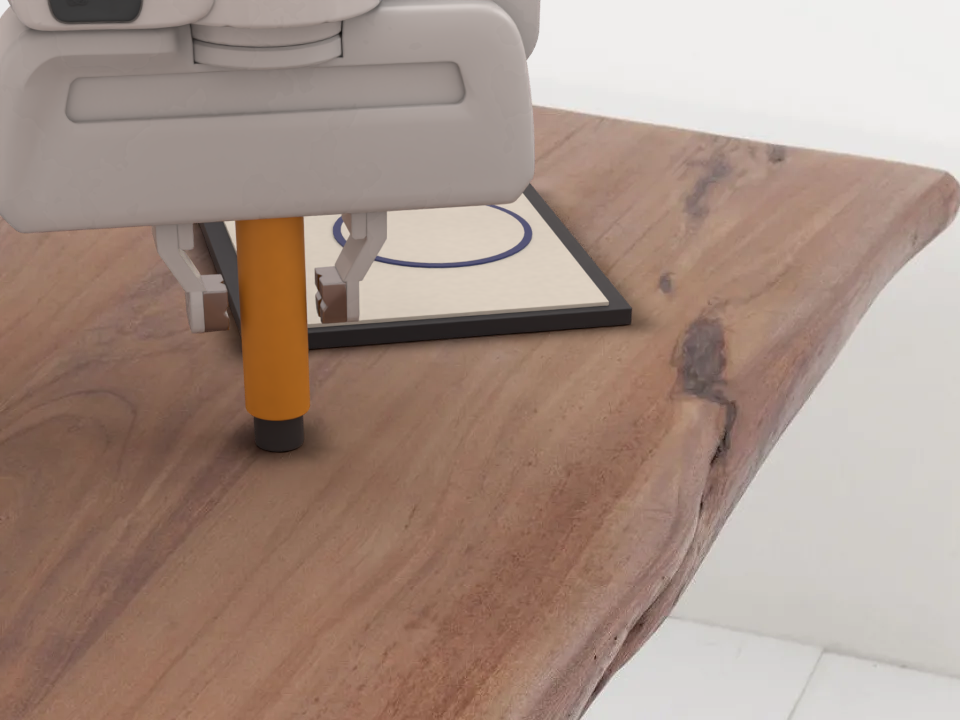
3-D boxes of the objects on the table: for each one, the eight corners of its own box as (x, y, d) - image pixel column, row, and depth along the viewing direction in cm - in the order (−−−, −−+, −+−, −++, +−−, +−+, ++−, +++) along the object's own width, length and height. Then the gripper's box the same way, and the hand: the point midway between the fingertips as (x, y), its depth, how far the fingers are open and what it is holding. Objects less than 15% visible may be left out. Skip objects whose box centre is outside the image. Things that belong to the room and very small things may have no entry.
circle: (353, 274, 89) (353, 272, 89) (316, 204, 97) (316, 202, 97) (555, 260, 92) (555, 258, 92) (503, 193, 99) (503, 190, 99)
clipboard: (247, 354, 84) (245, 322, 83) (196, 217, 98) (194, 188, 97) (631, 324, 88) (633, 293, 87) (529, 197, 102) (530, 169, 101)
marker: (251, 459, 76) (233, 132, 68) (241, 430, 78) (223, 110, 70) (318, 453, 76) (307, 128, 69) (306, 424, 78) (295, 106, 71)
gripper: (519, -80, 71) (508, 275, 79) (-42, -65, 66) (7, 310, 74) (566, -42, 66) (549, 334, 74) (-37, -22, 61) (15, 375, 69)
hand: (273, 322), depth 74 cm, fingers open, 4 cm apart
